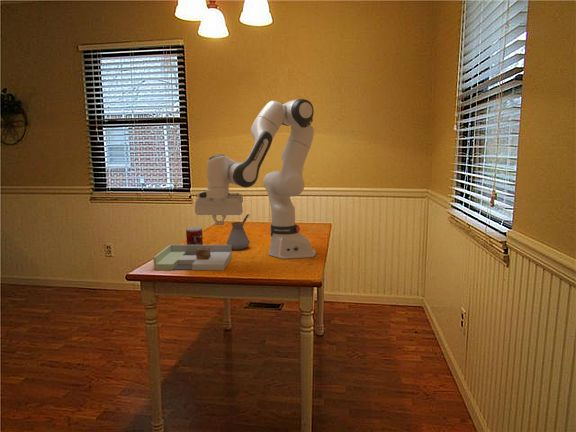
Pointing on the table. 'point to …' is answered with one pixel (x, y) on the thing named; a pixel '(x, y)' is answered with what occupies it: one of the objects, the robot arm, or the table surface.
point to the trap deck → (192, 258)
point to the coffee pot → (238, 236)
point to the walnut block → (203, 253)
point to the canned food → (194, 236)
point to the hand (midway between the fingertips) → (219, 225)
